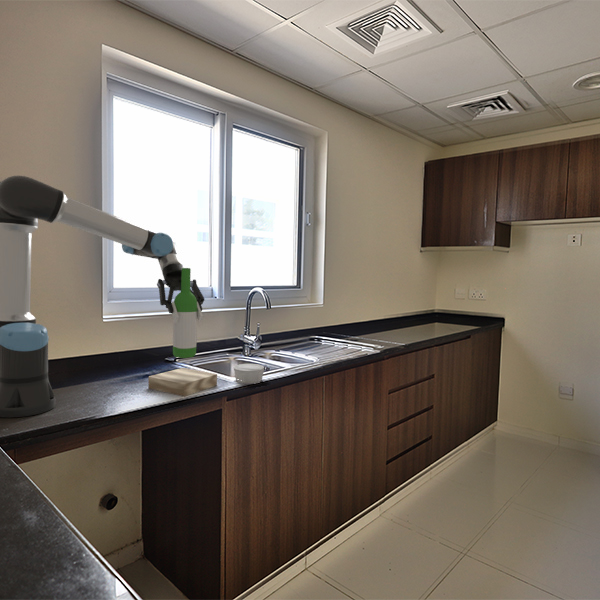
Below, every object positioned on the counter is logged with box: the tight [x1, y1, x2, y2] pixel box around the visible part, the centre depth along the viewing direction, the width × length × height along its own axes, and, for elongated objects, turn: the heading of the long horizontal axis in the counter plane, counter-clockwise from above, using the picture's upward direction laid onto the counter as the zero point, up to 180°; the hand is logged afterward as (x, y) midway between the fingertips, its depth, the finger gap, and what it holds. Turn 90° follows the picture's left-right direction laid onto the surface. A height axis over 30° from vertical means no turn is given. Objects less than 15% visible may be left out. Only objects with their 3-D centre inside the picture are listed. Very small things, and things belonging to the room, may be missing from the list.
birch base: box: [148, 367, 218, 397], centre depth 148 cm, size 16×16×4 cm
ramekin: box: [233, 363, 265, 385], centre depth 160 cm, size 11×11×5 cm
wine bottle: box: [172, 267, 198, 359], centre depth 147 cm, size 8×8×30 cm
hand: (188, 319), depth 144 cm, fingers closed on wine bottle, 8 cm apart
